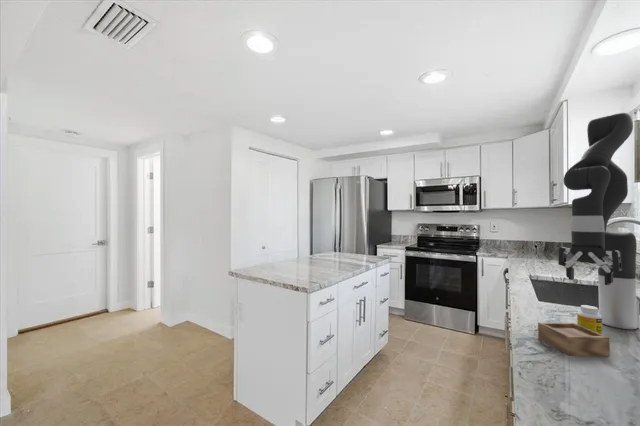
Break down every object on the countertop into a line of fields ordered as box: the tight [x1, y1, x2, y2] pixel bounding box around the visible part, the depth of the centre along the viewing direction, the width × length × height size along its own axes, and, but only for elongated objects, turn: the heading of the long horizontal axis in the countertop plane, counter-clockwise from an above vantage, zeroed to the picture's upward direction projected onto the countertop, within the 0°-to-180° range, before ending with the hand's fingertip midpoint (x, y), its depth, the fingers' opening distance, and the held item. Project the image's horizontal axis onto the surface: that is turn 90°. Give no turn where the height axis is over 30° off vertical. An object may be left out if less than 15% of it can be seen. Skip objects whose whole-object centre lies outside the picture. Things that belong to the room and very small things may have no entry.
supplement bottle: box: [576, 304, 603, 335], centre depth 87 cm, size 6×6×10 cm
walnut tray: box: [537, 321, 611, 357], centre depth 82 cm, size 11×11×5 cm
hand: (588, 282), depth 87 cm, fingers open, 8 cm apart
